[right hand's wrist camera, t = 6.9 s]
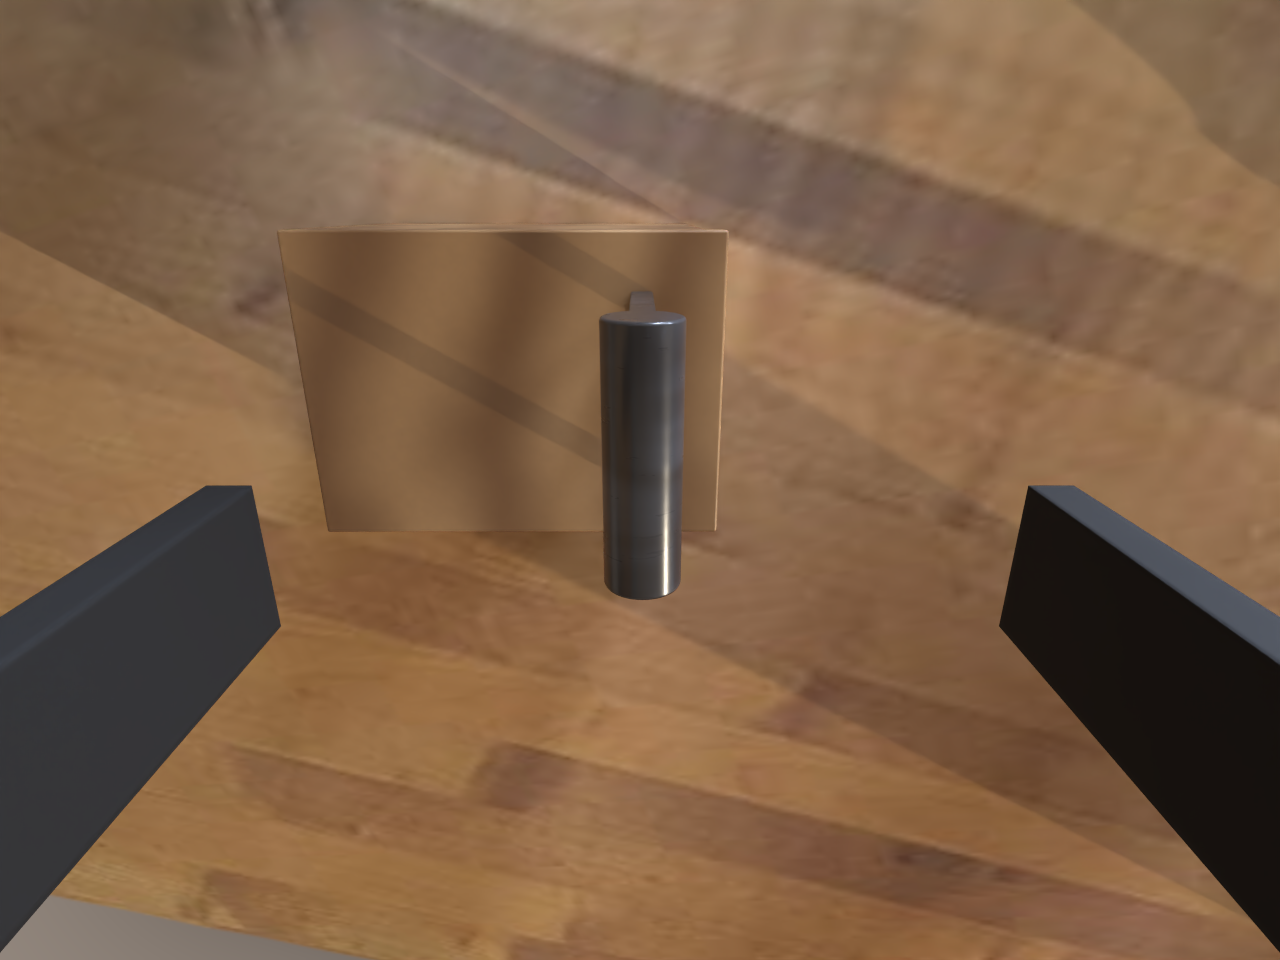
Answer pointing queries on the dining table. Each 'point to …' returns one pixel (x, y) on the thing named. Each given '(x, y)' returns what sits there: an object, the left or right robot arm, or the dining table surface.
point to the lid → (517, 383)
